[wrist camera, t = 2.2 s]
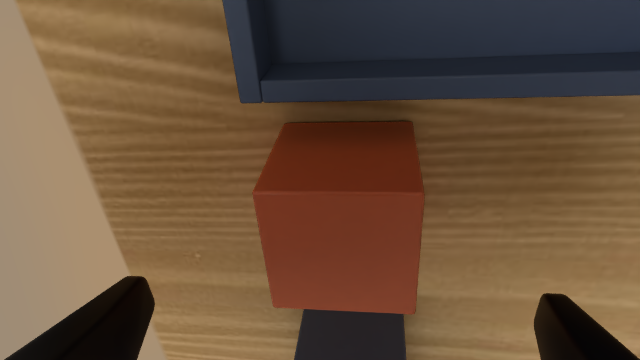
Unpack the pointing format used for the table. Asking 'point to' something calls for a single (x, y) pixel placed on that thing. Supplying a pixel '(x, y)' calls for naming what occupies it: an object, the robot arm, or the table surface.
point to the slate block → (350, 336)
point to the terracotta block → (342, 217)
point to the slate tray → (432, 49)
